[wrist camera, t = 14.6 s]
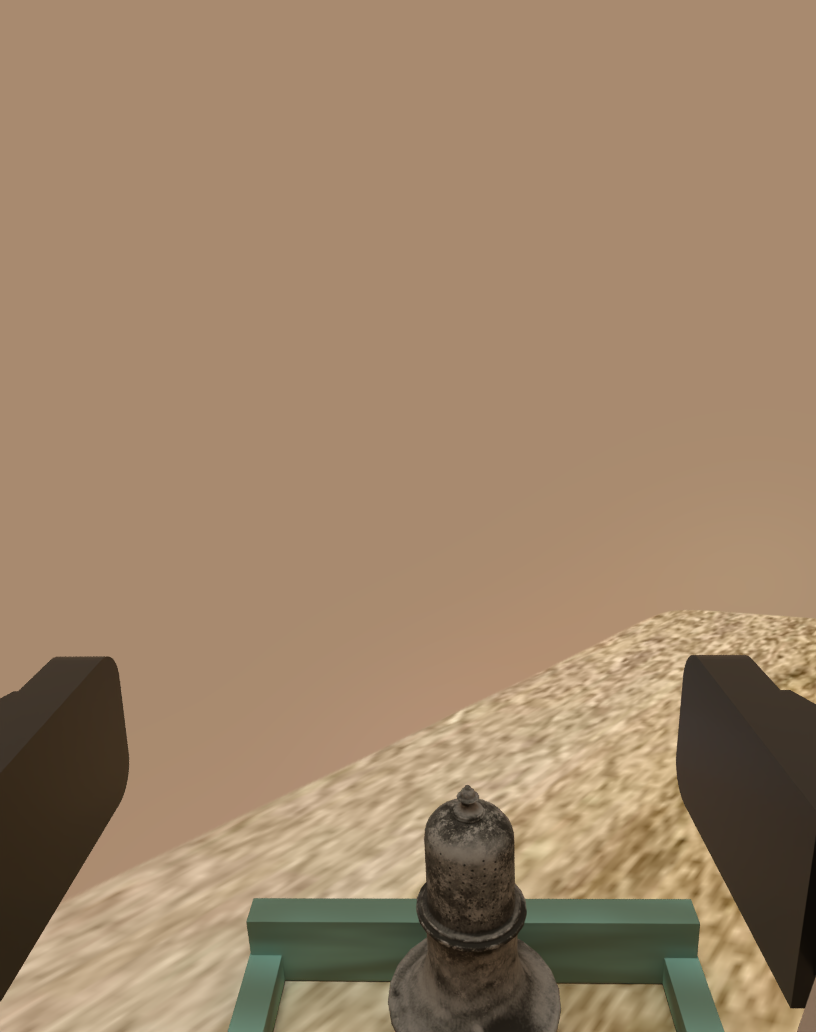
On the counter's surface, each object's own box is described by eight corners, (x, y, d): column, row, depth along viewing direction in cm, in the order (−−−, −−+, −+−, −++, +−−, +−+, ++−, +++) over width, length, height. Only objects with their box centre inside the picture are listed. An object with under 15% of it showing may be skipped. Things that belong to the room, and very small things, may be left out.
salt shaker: (436, 976, 32) (424, 717, 28) (579, 1034, 29) (586, 756, 25) (362, 1111, 27) (336, 817, 23) (527, 1195, 24) (526, 878, 21)
